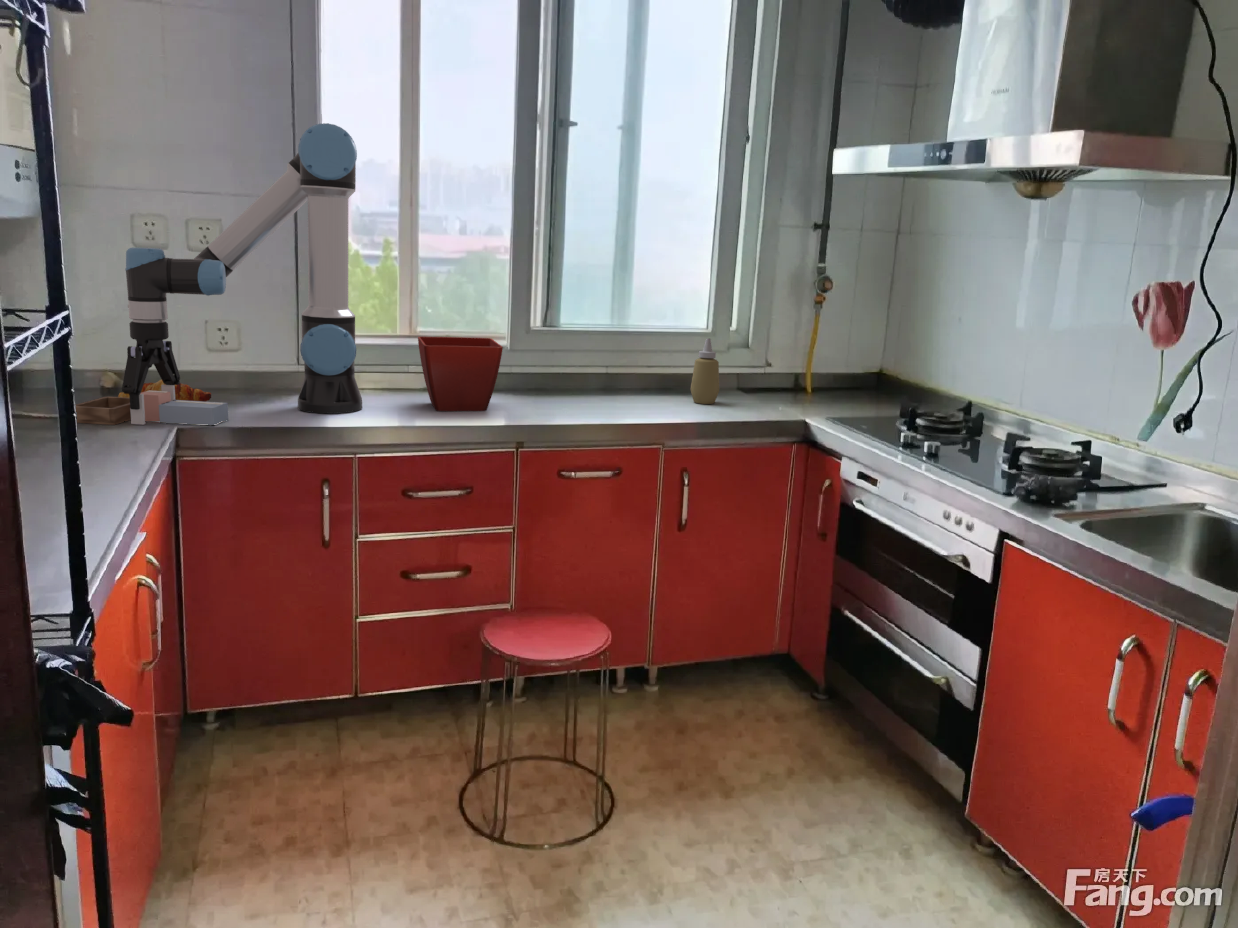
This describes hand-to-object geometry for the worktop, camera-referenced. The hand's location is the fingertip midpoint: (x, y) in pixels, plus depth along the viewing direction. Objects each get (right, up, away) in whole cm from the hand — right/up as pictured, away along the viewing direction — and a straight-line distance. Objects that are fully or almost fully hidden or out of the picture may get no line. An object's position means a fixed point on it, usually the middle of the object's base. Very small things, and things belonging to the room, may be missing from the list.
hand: (154, 418), depth 214 cm
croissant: (-6, +4, +19) cm, 20 cm away
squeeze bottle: (+126, +7, +58) cm, 139 cm away
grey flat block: (+9, -1, 0) cm, 9 cm away
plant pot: (+62, +4, +33) cm, 70 cm away
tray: (-9, 0, 0) cm, 9 cm away
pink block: (0, 0, 0) cm, 0 cm away
